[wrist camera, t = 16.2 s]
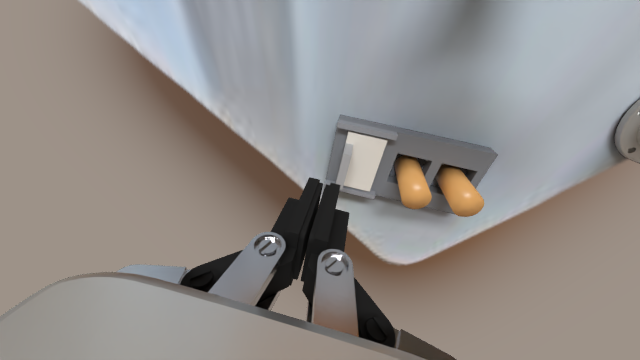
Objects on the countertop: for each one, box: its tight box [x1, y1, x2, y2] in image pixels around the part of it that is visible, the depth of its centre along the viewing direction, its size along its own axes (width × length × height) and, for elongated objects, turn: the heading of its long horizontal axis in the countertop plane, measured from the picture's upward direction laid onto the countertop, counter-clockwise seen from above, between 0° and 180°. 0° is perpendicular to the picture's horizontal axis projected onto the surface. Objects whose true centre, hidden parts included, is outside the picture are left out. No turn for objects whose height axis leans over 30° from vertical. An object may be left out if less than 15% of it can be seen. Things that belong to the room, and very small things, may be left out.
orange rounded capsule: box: [394, 155, 432, 209], centre depth 36 cm, size 4×4×9 cm
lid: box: [336, 130, 387, 192], centre depth 36 cm, size 6×10×5 cm, turn 170°
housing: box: [324, 115, 498, 214], centre depth 38 cm, size 24×12×4 cm, turn 80°
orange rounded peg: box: [435, 164, 484, 217], centre depth 36 cm, size 4×4×9 cm
